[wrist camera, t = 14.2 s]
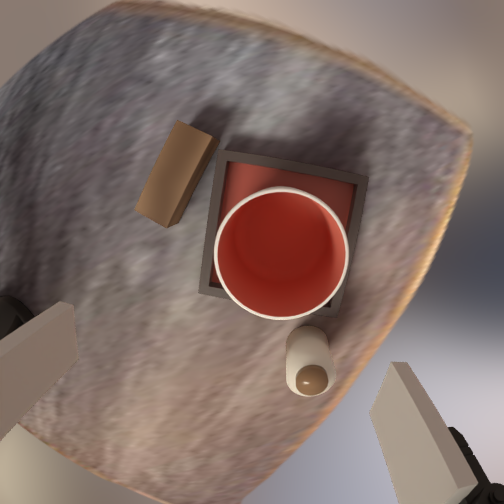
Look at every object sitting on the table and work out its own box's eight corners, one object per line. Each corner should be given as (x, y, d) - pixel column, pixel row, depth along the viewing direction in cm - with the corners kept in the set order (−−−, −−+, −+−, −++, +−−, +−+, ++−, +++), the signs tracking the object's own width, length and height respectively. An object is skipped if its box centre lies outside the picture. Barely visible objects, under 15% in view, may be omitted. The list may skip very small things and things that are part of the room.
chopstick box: (149, 206, 34) (134, 209, 30) (188, 126, 32) (177, 120, 28) (178, 222, 34) (166, 228, 30) (220, 141, 32) (212, 136, 28)
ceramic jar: (281, 358, 37) (281, 398, 29) (290, 322, 35) (292, 359, 28) (321, 363, 36) (329, 404, 29) (332, 328, 35) (343, 365, 27)
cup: (269, 166, 31) (265, 159, 21) (347, 224, 32) (375, 242, 22) (214, 245, 33) (188, 271, 24) (290, 298, 34) (294, 342, 24)
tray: (203, 286, 35) (198, 293, 33) (222, 151, 32) (218, 149, 30) (333, 309, 35) (336, 317, 32) (362, 177, 31) (368, 176, 29)
